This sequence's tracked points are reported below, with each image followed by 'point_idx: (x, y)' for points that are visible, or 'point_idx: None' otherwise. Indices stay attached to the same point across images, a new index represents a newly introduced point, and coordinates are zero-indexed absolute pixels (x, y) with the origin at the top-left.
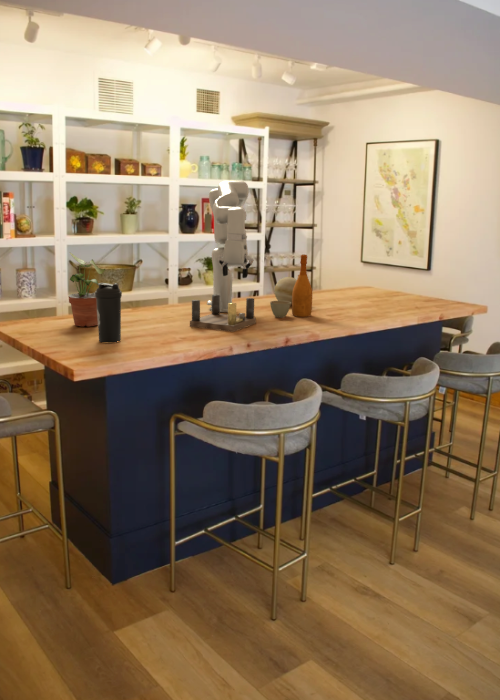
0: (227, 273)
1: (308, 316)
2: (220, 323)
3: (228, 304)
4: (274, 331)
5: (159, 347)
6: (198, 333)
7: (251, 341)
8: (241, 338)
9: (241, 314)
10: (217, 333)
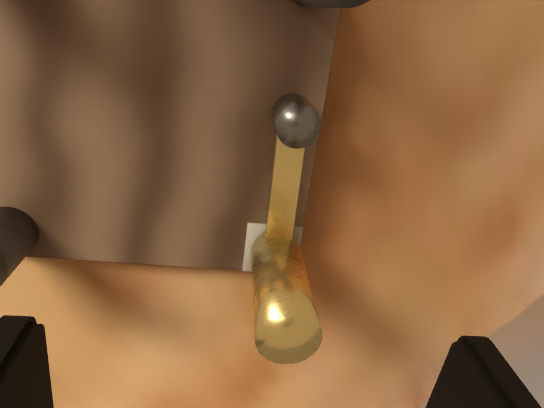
0: (28, 354)
1: None
2: (196, 243)
3: (266, 353)
4: (505, 153)
5: None
6: (150, 351)
7: (425, 377)
8: (372, 352)
9: (300, 147)
10: (232, 317)
